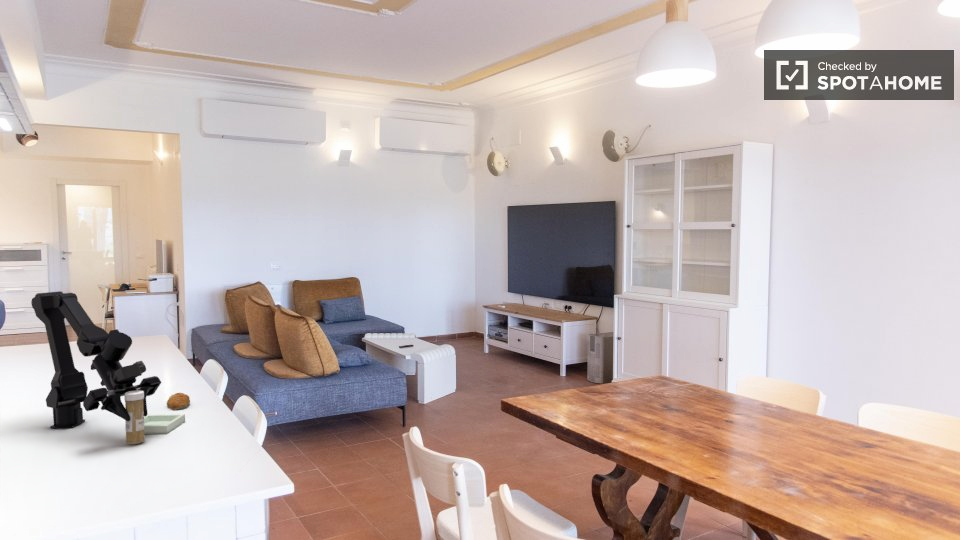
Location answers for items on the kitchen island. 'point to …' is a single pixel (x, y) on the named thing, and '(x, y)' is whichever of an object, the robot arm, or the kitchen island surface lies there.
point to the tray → (162, 423)
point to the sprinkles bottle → (135, 417)
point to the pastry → (178, 401)
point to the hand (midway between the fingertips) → (137, 417)
